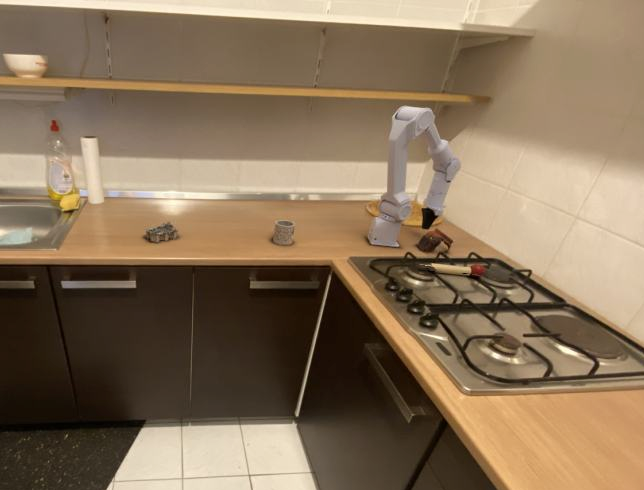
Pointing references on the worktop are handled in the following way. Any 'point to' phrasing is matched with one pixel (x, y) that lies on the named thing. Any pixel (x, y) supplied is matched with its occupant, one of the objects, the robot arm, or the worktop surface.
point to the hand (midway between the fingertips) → (425, 228)
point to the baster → (459, 269)
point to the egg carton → (162, 232)
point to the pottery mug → (434, 240)
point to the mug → (283, 232)
